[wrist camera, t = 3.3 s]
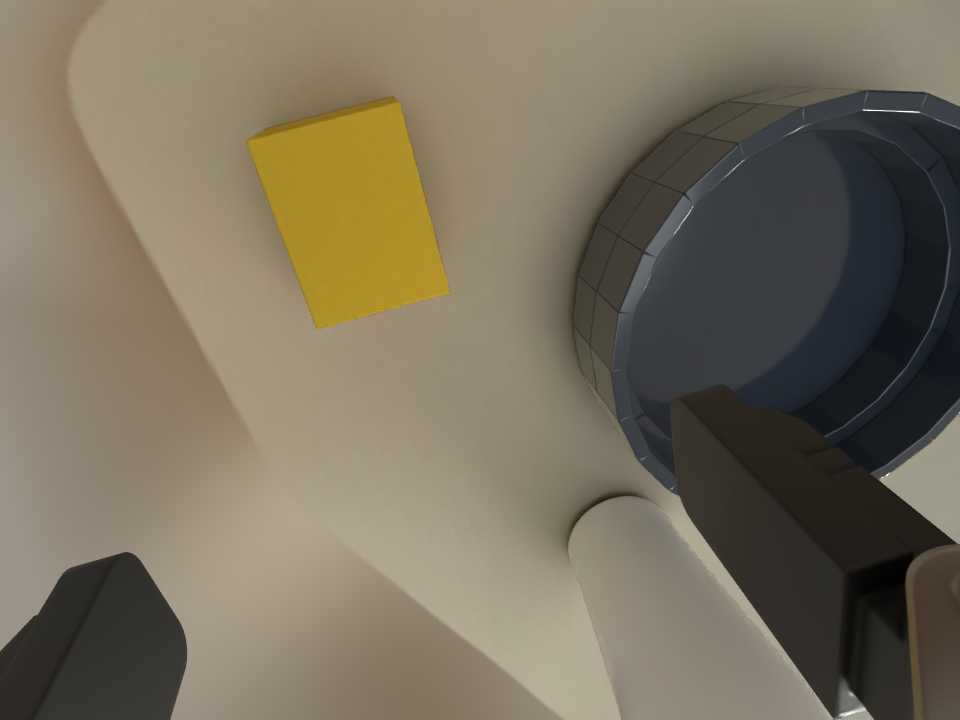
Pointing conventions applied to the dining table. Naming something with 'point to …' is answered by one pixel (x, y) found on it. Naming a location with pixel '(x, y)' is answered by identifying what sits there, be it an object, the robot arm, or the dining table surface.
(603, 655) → the drinking glass
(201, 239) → the dining table surface
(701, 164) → the bowl
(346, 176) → the sponge
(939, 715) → the robot arm
